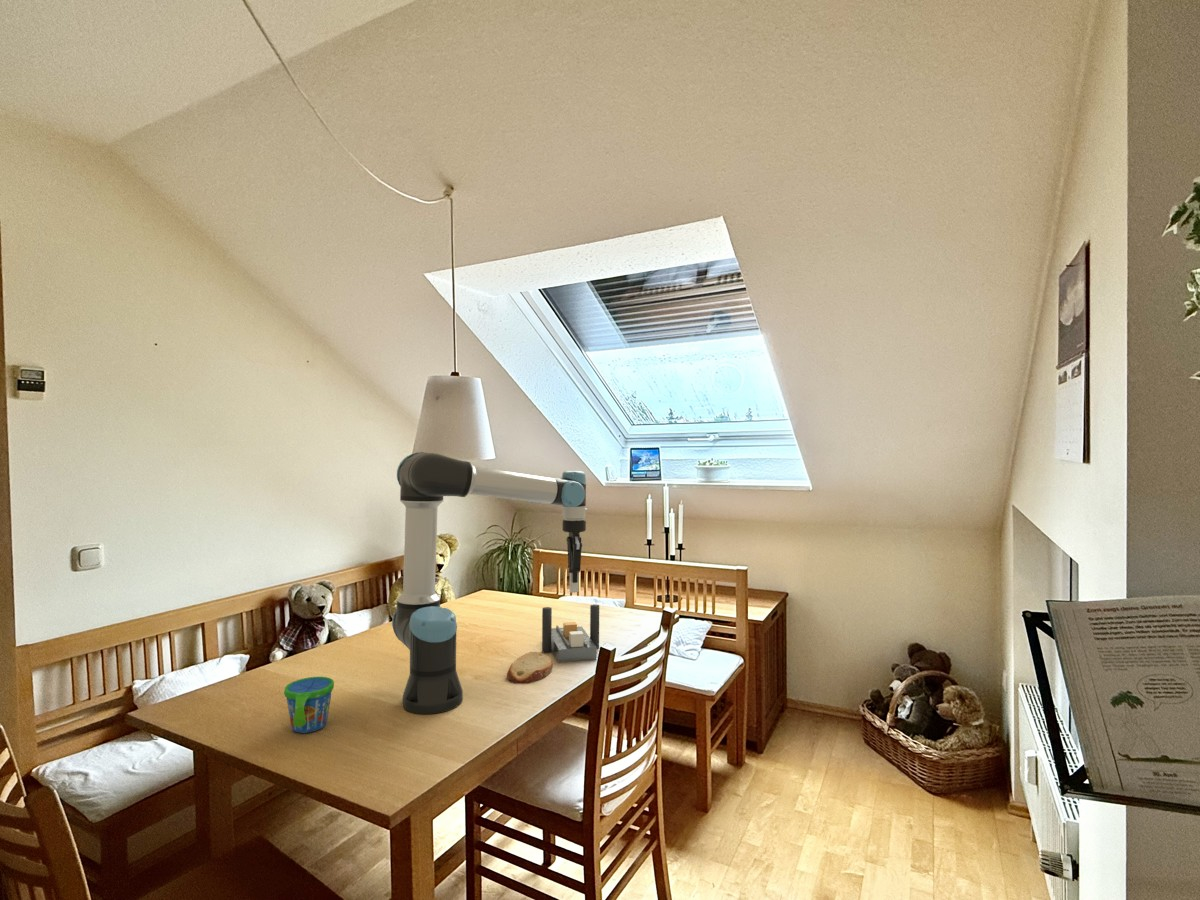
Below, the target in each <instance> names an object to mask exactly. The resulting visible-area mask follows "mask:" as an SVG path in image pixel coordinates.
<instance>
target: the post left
mask: <svg viewBox="0 0 1200 900" xmlns="http://www.w3.org/2000/svg"><path fill="white" fill-rule="evenodd" d="M541 611H542V612H541V613H542V614H541V615H542V619H541V621H542V622H541V624H542V625H541V626H542V627H541V628H542V629H541V630H542V631H541V635H542V636H541V653H543V652H544V653H543V654H549V652H550V653H551V652H552V648H551V628H552V622H553V621H552V619H553V618H552V615H553V614H552V607H549V606H545V607H542V610H541Z"/></svg>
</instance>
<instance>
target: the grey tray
mask: <svg viewBox="0 0 1200 900" xmlns="http://www.w3.org/2000/svg"><path fill="white" fill-rule="evenodd" d="M577 631H582V632H583V634H584V646H583V647H570V645H569V637H564V635H563V627H559V625H556V626H555V627H554V628H551V651H552V652H553V655H554V656H555V658H556V660H557V662H558V663H573V662H583V661H586V662H587V661H595V660H596V658H597V656H598V655H597V653H598V652H597V650H598V649H597V647H596V645H595V644H594V643H593V641H592V640H591V639H590V635H589V634H588V633H587V632H586V630H585V629H584V627H583V626H577Z"/></svg>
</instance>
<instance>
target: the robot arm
mask: <svg viewBox="0 0 1200 900" xmlns="http://www.w3.org/2000/svg"><path fill="white" fill-rule="evenodd" d="M396 479H397V483H398V485H399V486H400V491H399V496H400V497H399V501H400V503H401V504H403V506H405V513H404V514H405V515H404V517H405V520H404V545H403V546H404V547H403V548H404V551H403V552H404V553H403V577H402V578H403V582H402V583H403V584H402V585H403V587H402V593H401V594H400V595H399V596H398V597H397V599H396V609H395V610H394V613H393V616H392V620H391V625H392V629H393V630H392V631H393V633H394V635H395V636H396V638H397V639H398V641H400V642H401V643H402V644H403V645H404V646H405V647H406V648H407V649H408V650H409V676H408V678H407V682H406V685H405V688H404V691H403V694H402V703H401V705H402V708H403V710H405V711H406V712H409V713H413V714H418V715H431V714H439V713H444V712H447V711H451V710H452V709H455V708H456V707H458V706H460V705H461V704H462V702H463V699H464V697H463V696H464V695H463V694H464V693H463V692H464V691H463V688H462V684H461V682H460V678H459V674H458V672H457V630H458V623H457V618H456V617H457V616H456V614H455V612H453V610H451V609H450V608H448V607H447V608H446V607H442V606H441V596H440V595H439V594H438V593H437V592H436V571H437V570H436V567H437V565H436V564H437V540H438V539H437V537H438V535H437V534H438V507H440V506H441V504H442V503H443V502H444V497H457V498H458V497H459V498H460V497H461V498H466V497H467V496H468V495H474V496H483V497H489V498H490V497H491V498H499V499H509V500H514V501H515V500H516V501H517V500H518V501H524V502H530V503H533V504H535V503H537V504H547V505H548V504H550V505H555V506H561V508H562V511H561V513H562V518H563V520H562V532H564V533H568V536H567V537H566V545H567V568H568V569H569V570H568V574H569V593H571V594H573V593H574V594H575V593H579V590H580V589H579V588H580V586H579V583H580V581H579V580H580V577H579V576H580V574H579V573H580V572H581V565H582V563H581V561H582V548H583V543H582V537H581V536H580V533H584V532H585V531H586V530H587V526H586V525H587V521H586V519H585V518H586V516H587V513H586V512H588V508H586V505H587V504H586V503H587V502H586V501H587V499H586V497H587V480H586V473H585V472H584V471H581V470H566V471H563V472H562V476H561V477H554V478H553V477H546V476H542V475H541V476H540V475H535V474H527V473H520V472H514V471H506V470H500V469H495V468H488V467H481V466H475V465H473V464H472V462H470V461H466V460H461V459H456V458H453V457H450V456H447V455H443V454H440V453H436V452H435V453H434V452H423V451H420V452H418V451H417V452H415V453H414V452H413V453H411V454H409V455H407V456H405V457H404V458H403V459H402V460H401V461H400V463H399V464H398V466H397V469H396Z"/></svg>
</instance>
